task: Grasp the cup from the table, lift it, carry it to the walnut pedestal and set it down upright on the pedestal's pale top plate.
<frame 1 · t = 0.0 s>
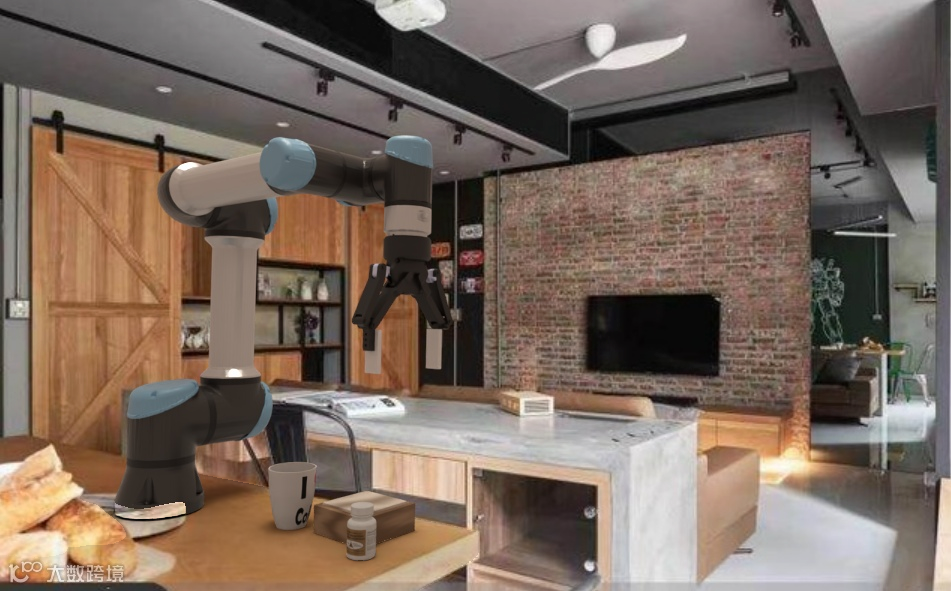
hand: (404, 371, 103), 28 cm above the table, fingers open, 13 cm apart
pill bottle: (361, 557, 100), on the table
pedestal: (364, 531, 112), on the table
cup: (291, 526, 114), on the table
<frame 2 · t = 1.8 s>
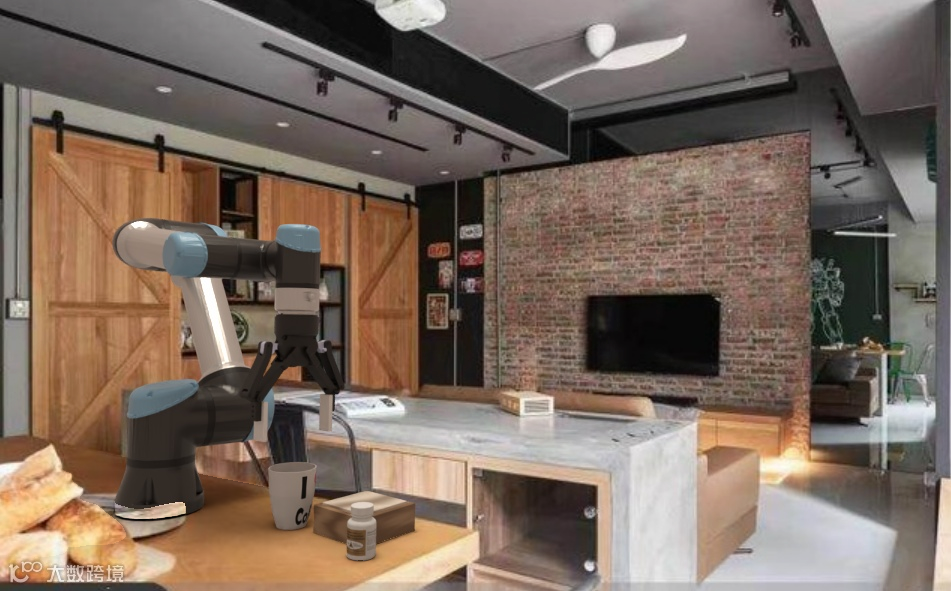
hand: (294, 435, 115), 15 cm above the table, fingers open, 13 cm apart
nothing on the table moved.
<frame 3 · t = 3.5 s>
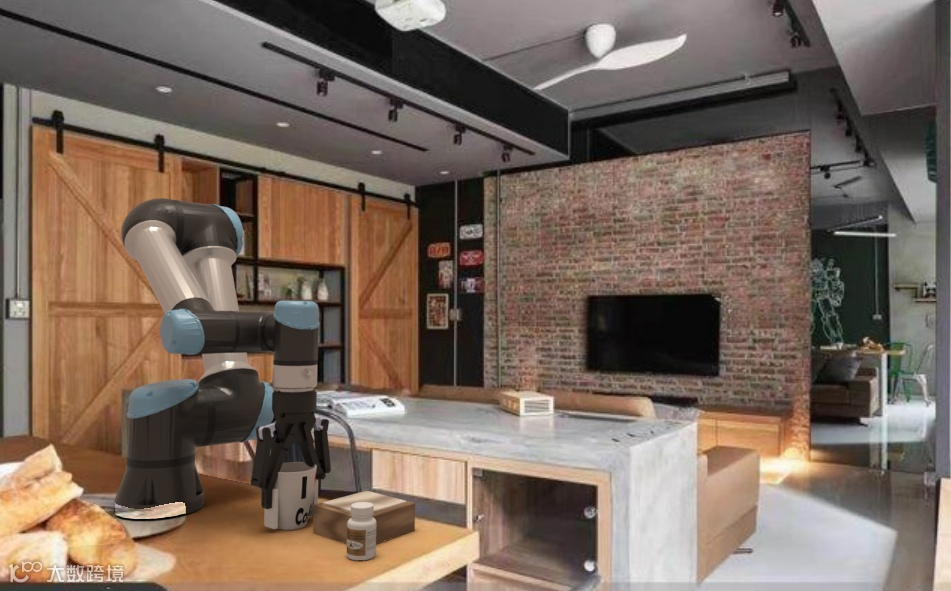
hand: (291, 521, 114), 1 cm above the table, fingers closed on cup, 8 cm apart
cup: (291, 526, 114), on the table, touching gripper
everything else where it was.
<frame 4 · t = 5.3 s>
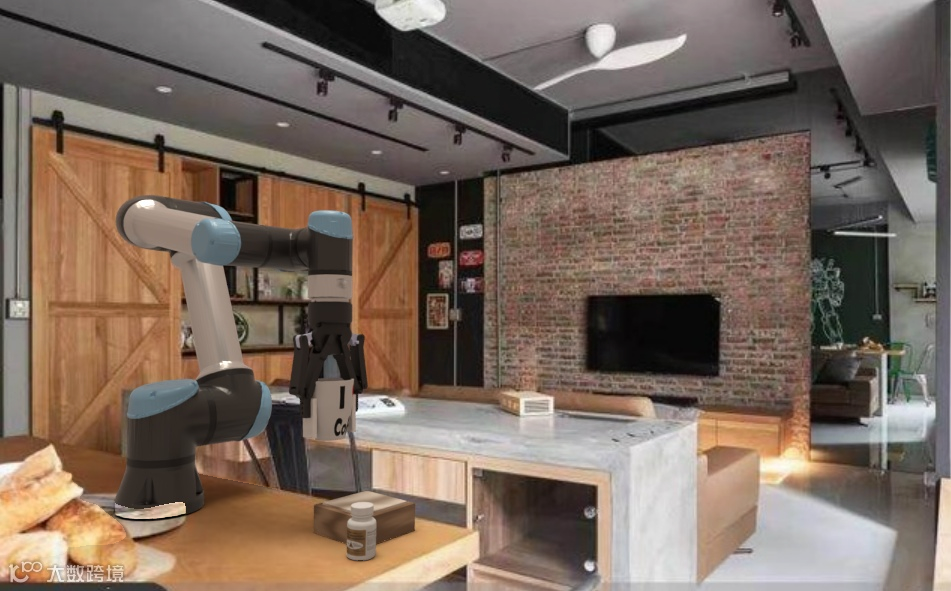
hand: (329, 434, 113), 16 cm above the table, fingers closed on cup, 8 cm apart
cup: (329, 439, 113), point 15 cm above the table, touching gripper
everything else where it was.
when the fingers open (6 cm above the table, at t = 7.3 s): cup stays where it is, resting on pedestal.
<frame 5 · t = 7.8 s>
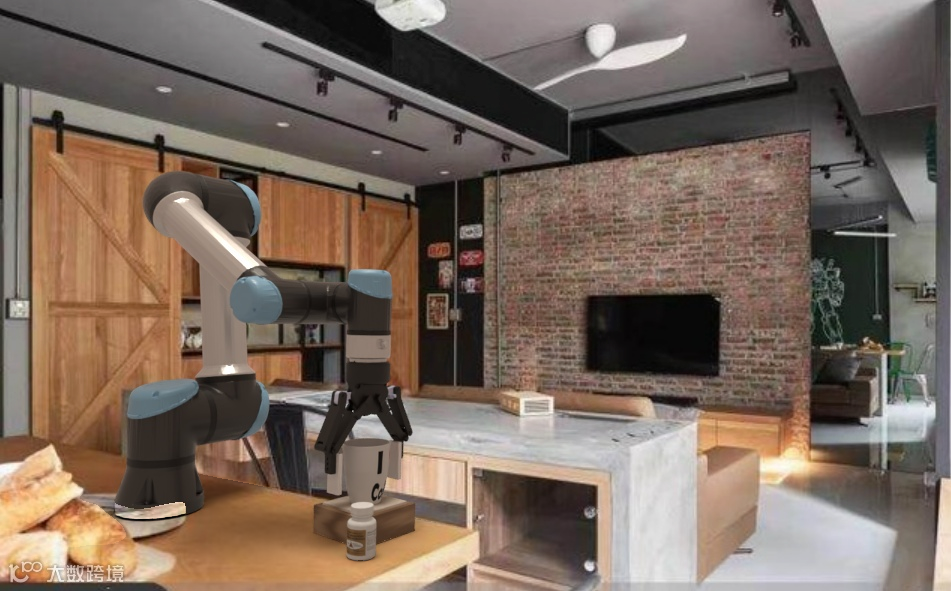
hand: (365, 485, 112), 8 cm above the table, fingers open, 13 cm apart
cup: (365, 502, 112), point 5 cm above the table, touching pedestal
everything else where it was.
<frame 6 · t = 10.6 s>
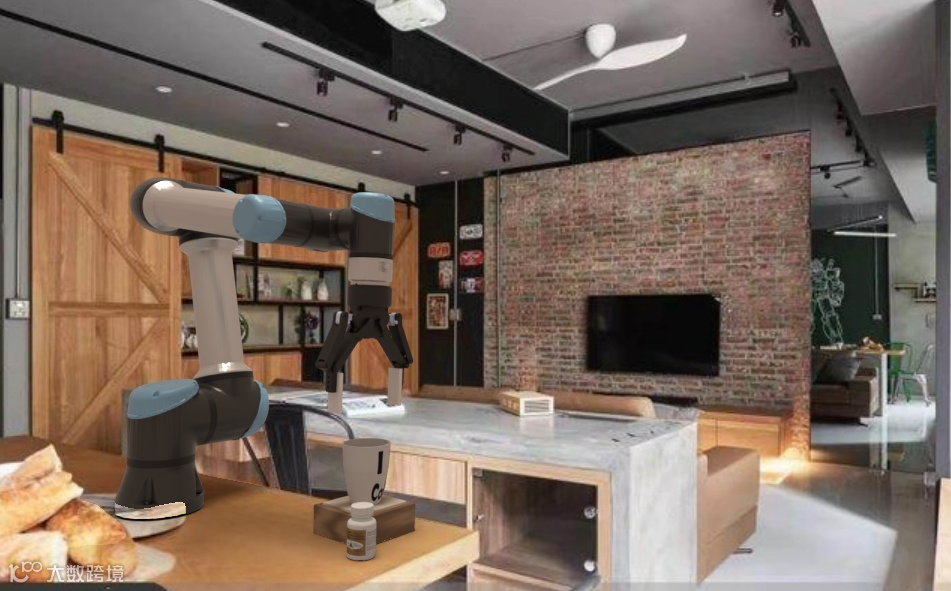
hand: (365, 408, 112), 21 cm above the table, fingers open, 13 cm apart
nothing on the table moved.
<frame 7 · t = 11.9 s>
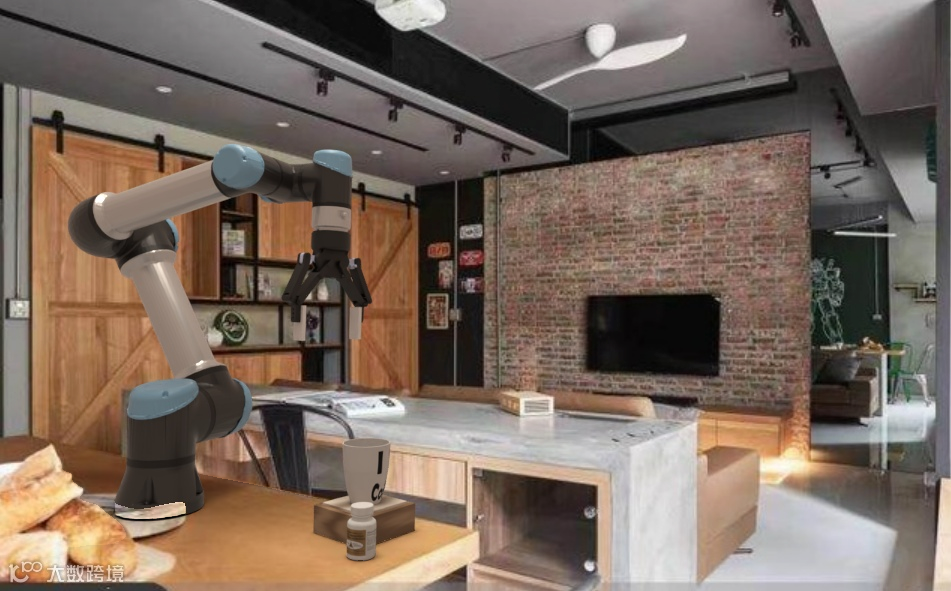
hand: (328, 340, 128), 32 cm above the table, fingers open, 13 cm apart
nothing on the table moved.
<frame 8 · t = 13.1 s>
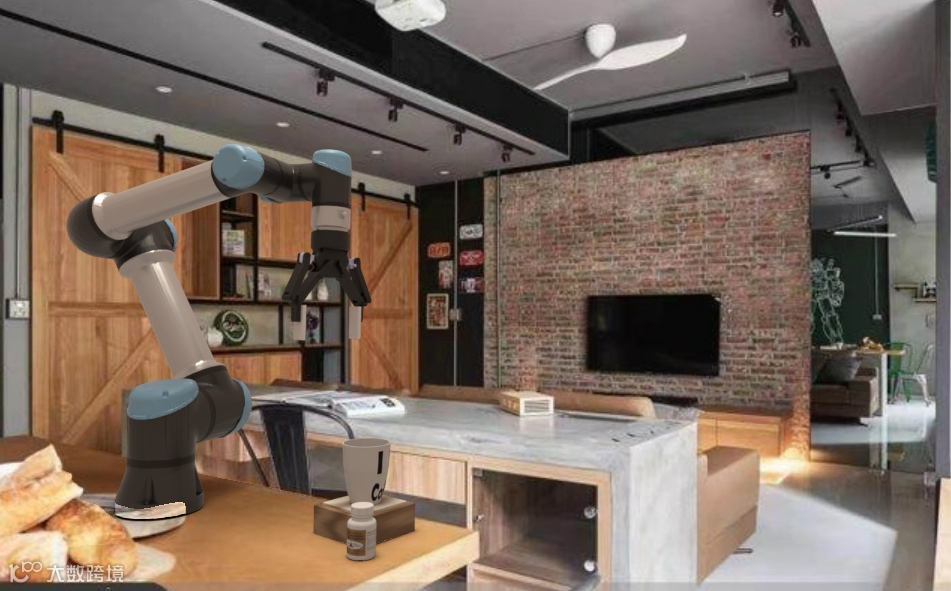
hand: (328, 339, 128), 32 cm above the table, fingers open, 13 cm apart
nothing on the table moved.
at the end: cup inside the target area on the pedestal (0.1 cm from its centre), point 4.8 cm above the pedestal's base; cup tilted 0°; cup touching pedestal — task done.
